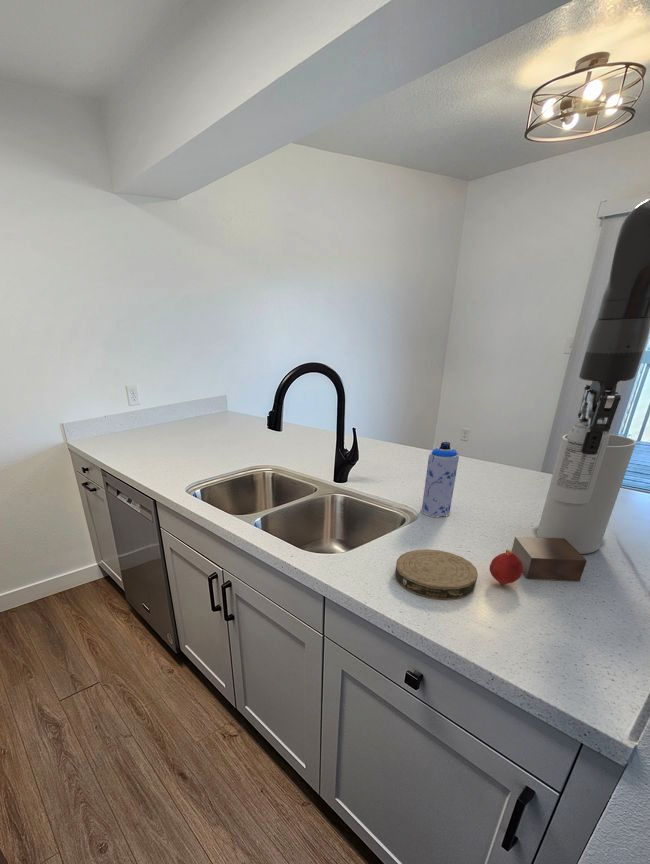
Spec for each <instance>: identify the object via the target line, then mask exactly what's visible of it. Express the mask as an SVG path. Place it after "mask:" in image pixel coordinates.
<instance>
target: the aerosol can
mask: <svg viewBox="0 0 650 864" xmlns="http://www.w3.org/2000/svg"><path fill="white" fill-rule="evenodd" d="M427 459H428V460H427V466H426V473H425V474H426V475H425V482H424V488H423V497H422V504H421V508H420V512H421V514H423V513H424V514H426V515H425V516H427V515H430V516H446V515H449V514H450V515H451V512H452V511H451V507H452V502H453V495H454V490H455V483H456V477H457V471H458V465H459V459H460V455H459V453H458V452H457V451H456V449H454V448H453V447H451V442H449V441H443V442H441V443H440V446H438V447H436V448H434V449H433V450H432V451H431V452H430V453H429V455H428V458H427ZM424 514H423V515H424ZM450 515H449V516H450ZM430 516H429V517H430ZM446 517H447V516H446Z"/></svg>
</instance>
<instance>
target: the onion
mask: <svg viewBox="0 0 650 864" xmlns="http://www.w3.org/2000/svg"><path fill="white" fill-rule="evenodd" d="M489 572H490V575H491V576H492V578H494V579H495V580H496V581H497V583H499V584H500V585H503V586H504V585H510V584H512V583H514V582H518V580H519V579H521V577H522V575H523V564H522V562H521V560H520V559H519V557H518V556H516V555H515V554H514V553H513V552H512V549H506V550H505V552H502V553H500V554H498V555H495V557H493V558H492V560H491V562H490V564H489Z"/></svg>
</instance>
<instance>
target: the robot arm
mask: <svg viewBox="0 0 650 864" xmlns="http://www.w3.org/2000/svg"><path fill="white" fill-rule="evenodd" d="M649 335H650V198H649V199H645V201H643V202H640V204H638V205H637V206H636V207H635V208H633V209H632V210H631V211H630V212H629V214H628V215H627V216H626V217H625V219H624V220H623V222H622V224H621V225H620V228H619V231H618V234H617V240H616V243H615V247H614V251H613V257H612V262H611V267H610V271H609V276H608V281H607V284H606V287H605V288H604V292H603V294H602V297H601V301H600V304H599V308H598V312H597V315H596V320H595V322H594V325H593V327H592V330H591V331H590V335H589V338H588V342H587V345H586V348H585V353H584V357H583V360H582V364H581V368H580V371H579V378H580V380H582V381H590V382H591V384H586V385H585V386H584V391H583V395H582V399H581V403H580V407H579V411H578V414H577V417H578V422H588V426H587V429H586V430H587V432H586V436H585V439H584V443H583V446H582V449H581V452H582V453H583V454H596V453H597V451H598V448H599V445H600V442H601V439H602V435H603V433H605V432H608V431H609V432H610V430H611V426H612V423H613V420H614V417H615V416H616V412H617V409H618V406H619V404H620V401H621V399H622V397H621V395H620V394H619V392H617V387H618V383H619V382H628V381H631V380H633V379H634V378H636V374H637V372H638V369H639V366H640V362H641V360H642V356H643V353H644V351H645V348H646V343H647V340H648V338H649ZM599 421H601V423H602V424H597V422H599Z"/></svg>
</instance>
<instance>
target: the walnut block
mask: <svg viewBox="0 0 650 864" xmlns="http://www.w3.org/2000/svg"><path fill="white" fill-rule="evenodd" d="M511 551H512V552H513V553H514V554H515V555H516V556H518V557H519V559H520V560H521V562H522V564H523V573H522V575H523V576H524V578H525V579H528V580H545V581H562V582H563V581H565V582H581V579H582V576H583V574H584V570H585V568H586V565H587V561H588V560H587V559H586V558H585V556H583V554H580V553H579V552H578V551H577V550H576V549H575V548H574V547H573V546H572V545H571V544H570V543H569V542H568V541H567V540H566V539H565V538H537V536H536V537H535V536H534V537H531V536H515V537H514V540H513V543H512V547H511Z"/></svg>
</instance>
